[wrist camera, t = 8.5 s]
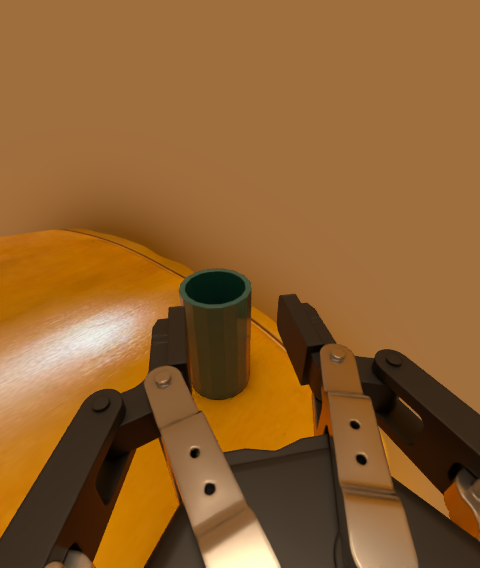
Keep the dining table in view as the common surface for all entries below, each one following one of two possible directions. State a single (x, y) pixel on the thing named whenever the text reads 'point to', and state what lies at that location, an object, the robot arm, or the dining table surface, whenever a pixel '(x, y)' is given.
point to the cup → (218, 331)
